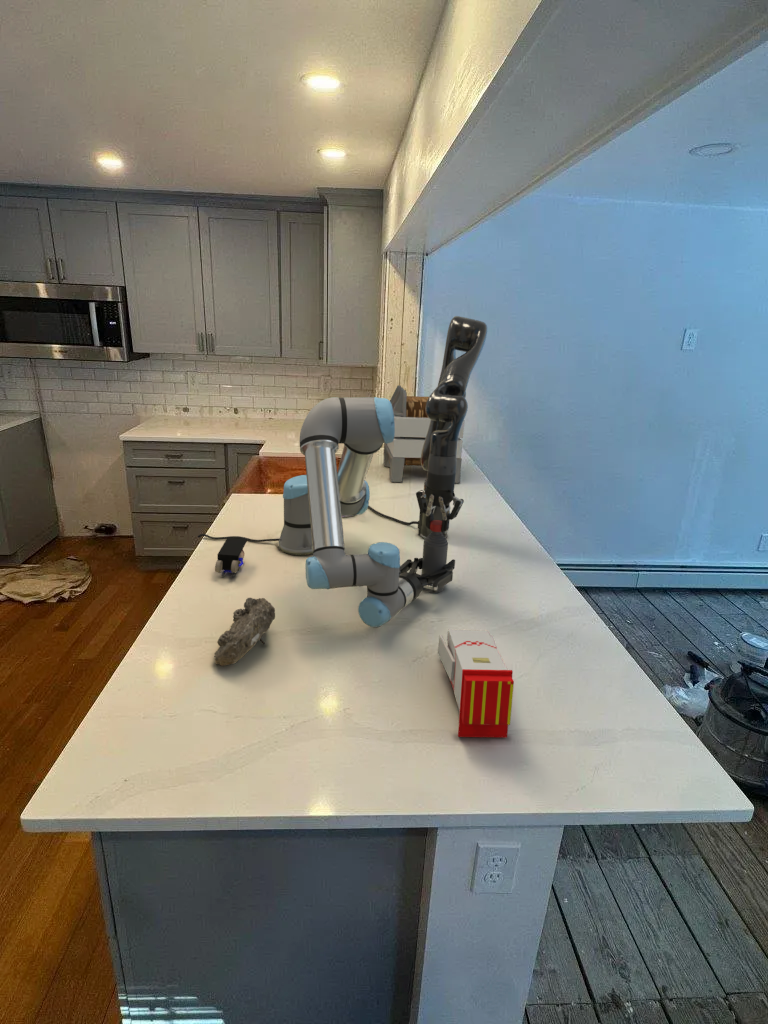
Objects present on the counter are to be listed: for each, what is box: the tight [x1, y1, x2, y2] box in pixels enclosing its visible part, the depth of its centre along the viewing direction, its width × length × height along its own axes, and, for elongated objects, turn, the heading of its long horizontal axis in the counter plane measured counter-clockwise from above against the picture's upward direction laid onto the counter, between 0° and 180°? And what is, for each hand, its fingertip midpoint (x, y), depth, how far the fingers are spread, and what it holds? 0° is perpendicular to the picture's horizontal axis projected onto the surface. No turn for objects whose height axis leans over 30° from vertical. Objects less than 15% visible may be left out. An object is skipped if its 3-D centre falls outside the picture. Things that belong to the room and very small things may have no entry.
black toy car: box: [214, 538, 248, 578], centre depth 166 cm, size 7×8×15 cm
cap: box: [430, 520, 442, 532], centre depth 156 cm, size 4×4×2 cm
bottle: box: [420, 531, 449, 594], centre depth 159 cm, size 7×7×19 cm
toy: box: [437, 628, 515, 738], centre depth 117 cm, size 12×13×30 cm
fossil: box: [214, 597, 276, 667], centre depth 130 cm, size 22×10×15 cm
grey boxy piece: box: [383, 384, 465, 484], centre depth 268 cm, size 34×33×41 cm
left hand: (441, 560), depth 164 cm, fingers closed on bottle, 7 cm apart
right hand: (436, 529), depth 157 cm, fingers closed on cap, 3 cm apart
